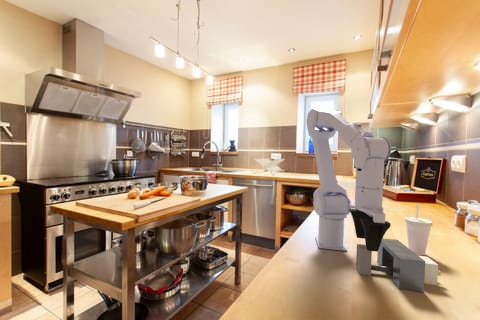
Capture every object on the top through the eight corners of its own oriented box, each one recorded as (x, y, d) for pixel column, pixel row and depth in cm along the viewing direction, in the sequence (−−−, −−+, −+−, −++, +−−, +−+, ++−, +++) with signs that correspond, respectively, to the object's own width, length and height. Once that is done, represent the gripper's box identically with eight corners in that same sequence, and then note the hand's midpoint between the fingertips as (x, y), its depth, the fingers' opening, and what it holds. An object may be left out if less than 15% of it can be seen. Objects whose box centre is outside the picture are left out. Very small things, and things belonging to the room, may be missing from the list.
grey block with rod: (355, 266, 56) (356, 243, 56) (431, 276, 53) (432, 250, 52) (360, 275, 52) (361, 249, 52) (442, 285, 49) (443, 258, 48)
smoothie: (418, 248, 69) (420, 202, 68) (437, 257, 62) (439, 207, 62) (398, 247, 68) (400, 202, 68) (415, 257, 62) (417, 207, 62)
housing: (377, 262, 59) (378, 237, 58) (396, 264, 58) (397, 239, 57) (399, 289, 47) (400, 258, 47) (423, 292, 46) (425, 261, 46)
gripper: (343, 182, 61) (341, 231, 62) (360, 191, 47) (357, 255, 47) (371, 184, 60) (369, 234, 60) (397, 193, 45) (394, 259, 46)
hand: (366, 243), depth 54 cm, fingers open, 7 cm apart
